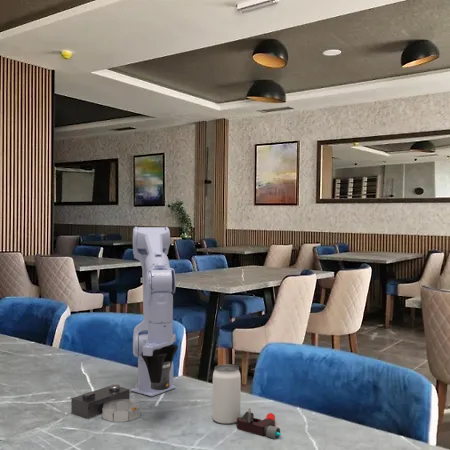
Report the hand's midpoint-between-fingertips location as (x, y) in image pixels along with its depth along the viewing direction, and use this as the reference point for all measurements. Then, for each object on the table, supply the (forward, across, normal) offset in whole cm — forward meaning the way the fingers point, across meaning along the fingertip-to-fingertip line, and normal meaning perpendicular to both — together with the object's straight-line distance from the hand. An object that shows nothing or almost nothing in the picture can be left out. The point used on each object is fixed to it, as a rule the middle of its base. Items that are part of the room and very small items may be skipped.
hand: (159, 379), depth 126 cm
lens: (+2, 0, 0) cm, 2 cm away
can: (+9, -4, +15) cm, 18 cm away
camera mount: (+9, +1, -12) cm, 15 cm away
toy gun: (+9, -1, +25) cm, 27 cm away
